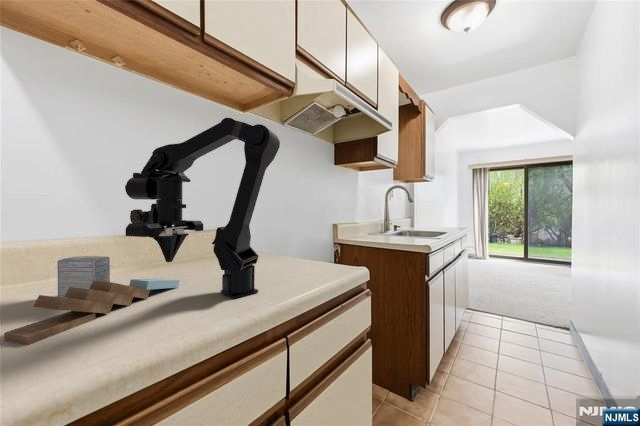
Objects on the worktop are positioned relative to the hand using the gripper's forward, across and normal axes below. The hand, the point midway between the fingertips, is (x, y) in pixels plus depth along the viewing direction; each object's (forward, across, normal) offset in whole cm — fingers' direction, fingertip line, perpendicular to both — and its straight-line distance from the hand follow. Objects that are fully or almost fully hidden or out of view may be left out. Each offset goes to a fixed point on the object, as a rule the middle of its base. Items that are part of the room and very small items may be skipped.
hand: (169, 261), depth 65 cm
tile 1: (+5, 0, 0) cm, 5 cm away
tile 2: (+6, +8, 0) cm, 10 cm away
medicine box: (+7, +11, -12) cm, 17 cm away
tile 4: (+5, +16, 0) cm, 17 cm away
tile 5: (+6, +19, 0) cm, 20 cm away
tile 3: (+6, +12, 0) cm, 13 cm away
